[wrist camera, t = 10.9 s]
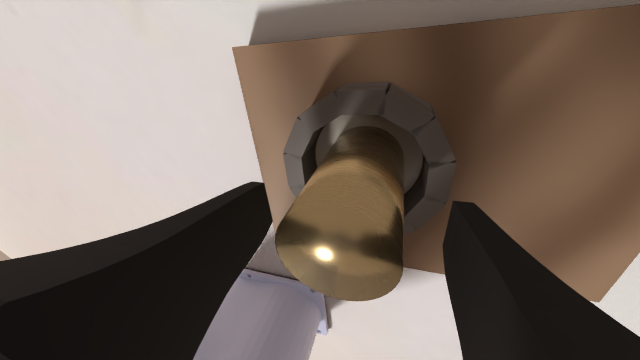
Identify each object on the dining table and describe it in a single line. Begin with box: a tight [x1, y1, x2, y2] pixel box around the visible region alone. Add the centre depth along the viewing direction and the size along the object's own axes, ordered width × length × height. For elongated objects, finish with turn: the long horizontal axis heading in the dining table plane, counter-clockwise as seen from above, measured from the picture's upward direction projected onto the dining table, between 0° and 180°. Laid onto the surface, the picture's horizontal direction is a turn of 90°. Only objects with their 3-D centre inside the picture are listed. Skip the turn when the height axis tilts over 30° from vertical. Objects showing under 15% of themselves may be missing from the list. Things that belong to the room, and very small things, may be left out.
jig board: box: [232, 4, 640, 302], centre depth 13 cm, size 20×14×4 cm
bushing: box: [275, 126, 404, 301], centre depth 10 cm, size 4×4×7 cm
